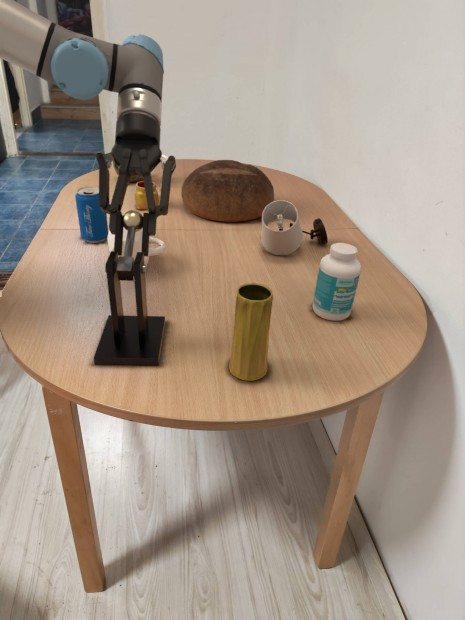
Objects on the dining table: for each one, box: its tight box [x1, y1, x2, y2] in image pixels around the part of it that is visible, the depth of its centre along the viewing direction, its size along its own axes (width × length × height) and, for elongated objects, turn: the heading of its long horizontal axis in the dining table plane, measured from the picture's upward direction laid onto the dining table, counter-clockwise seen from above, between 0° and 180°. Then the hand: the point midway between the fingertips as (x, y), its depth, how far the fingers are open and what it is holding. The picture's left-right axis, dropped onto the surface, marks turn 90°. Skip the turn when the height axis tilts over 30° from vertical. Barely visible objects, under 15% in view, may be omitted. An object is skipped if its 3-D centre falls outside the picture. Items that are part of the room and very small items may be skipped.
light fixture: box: [260, 199, 329, 256], centre depth 108 cm, size 10×16×17 cm
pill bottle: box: [311, 242, 362, 322], centre depth 84 cm, size 8×7×14 cm
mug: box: [106, 228, 166, 266], centre depth 98 cm, size 12×10×8 cm
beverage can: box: [74, 186, 109, 244], centre depth 107 cm, size 6×6×12 cm
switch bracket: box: [93, 251, 166, 366], centre depth 72 cm, size 12×10×16 cm
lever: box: [116, 209, 143, 282], centre depth 72 cm, size 13×4×4 cm, turn 2°
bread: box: [180, 159, 275, 223], centre depth 129 cm, size 26×27×13 cm
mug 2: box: [134, 180, 160, 211], centre depth 130 cm, size 12×7×7 cm, turn 5°
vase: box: [228, 282, 274, 382], centre depth 68 cm, size 6×6×14 cm
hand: (131, 252), depth 73 cm, fingers closed on lever, 4 cm apart
